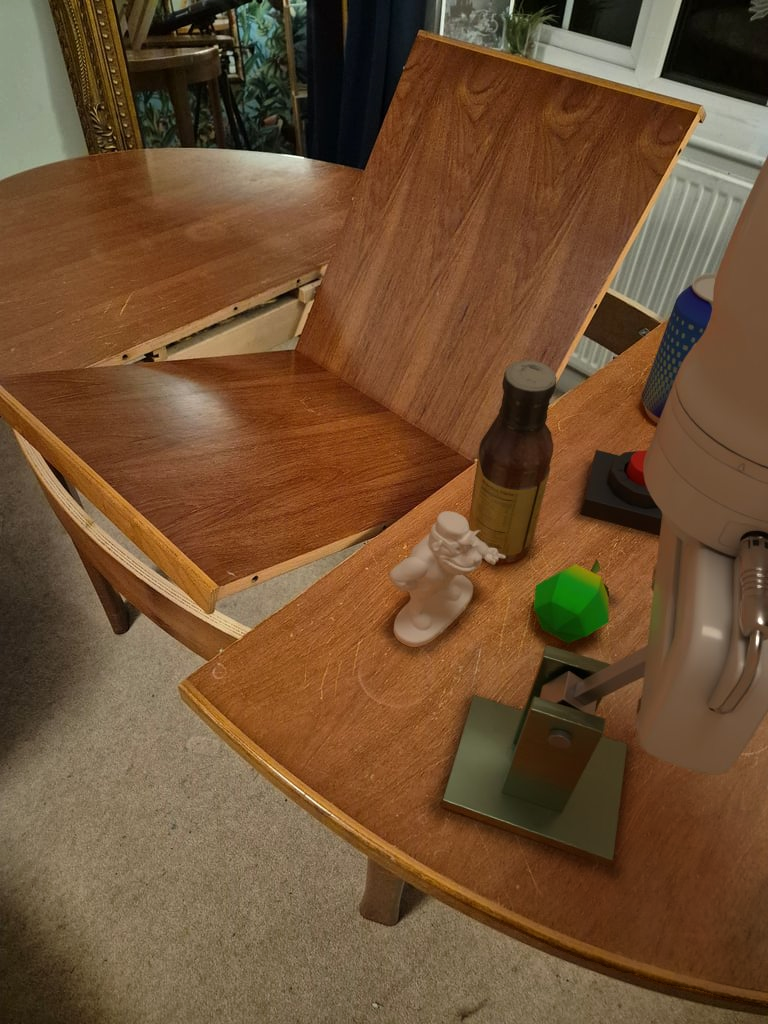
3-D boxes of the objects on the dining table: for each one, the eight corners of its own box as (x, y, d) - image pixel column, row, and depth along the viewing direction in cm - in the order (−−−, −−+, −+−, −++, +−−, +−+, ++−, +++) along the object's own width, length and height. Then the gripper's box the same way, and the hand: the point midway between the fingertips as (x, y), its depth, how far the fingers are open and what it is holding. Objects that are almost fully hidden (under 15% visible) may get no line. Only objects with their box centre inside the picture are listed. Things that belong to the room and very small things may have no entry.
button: (664, 468, 75) (669, 455, 73) (661, 491, 72) (667, 478, 71) (628, 459, 75) (632, 446, 74) (624, 482, 73) (629, 469, 72)
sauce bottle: (502, 511, 74) (540, 340, 60) (543, 551, 71) (594, 379, 57) (450, 536, 72) (477, 363, 58) (490, 578, 68) (530, 406, 54)
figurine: (436, 667, 61) (452, 575, 53) (376, 624, 64) (381, 529, 56) (497, 602, 66) (521, 508, 58) (439, 564, 69) (453, 469, 61)
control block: (686, 488, 78) (699, 460, 75) (681, 541, 73) (695, 512, 70) (591, 464, 80) (600, 436, 77) (579, 514, 75) (589, 485, 72)
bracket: (623, 751, 57) (677, 657, 48) (608, 867, 51) (667, 785, 42) (471, 702, 59) (495, 604, 50) (440, 807, 53) (461, 717, 44)
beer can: (724, 433, 85) (784, 308, 74) (656, 438, 84) (706, 312, 72) (691, 389, 91) (742, 267, 79) (627, 393, 89) (669, 270, 78)
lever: (713, 608, 41) (680, 585, 41) (710, 689, 38) (674, 665, 37) (574, 683, 50) (546, 665, 50) (561, 755, 46) (530, 736, 46)
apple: (570, 598, 58) (611, 527, 63) (506, 602, 62) (549, 536, 68) (609, 664, 60) (646, 591, 65) (545, 664, 65) (584, 595, 70)
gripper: (868, 689, 24) (712, 851, 33) (823, 353, 37) (722, 539, 47) (665, 630, 25) (573, 804, 35) (694, 327, 39) (622, 513, 48)
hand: (659, 649), depth 41 cm, fingers open, 8 cm apart
